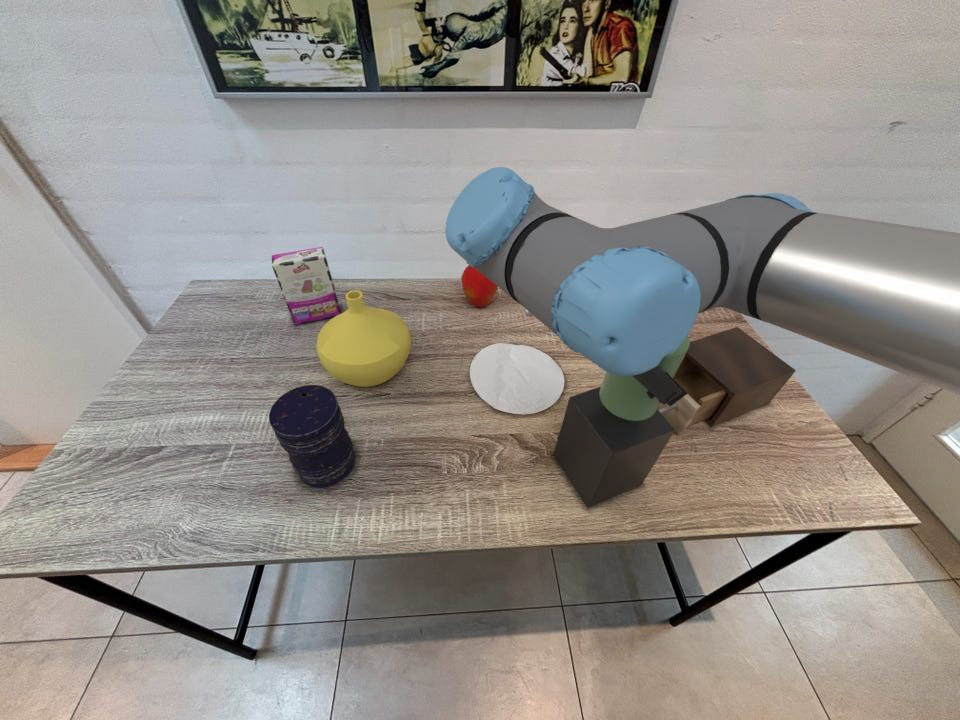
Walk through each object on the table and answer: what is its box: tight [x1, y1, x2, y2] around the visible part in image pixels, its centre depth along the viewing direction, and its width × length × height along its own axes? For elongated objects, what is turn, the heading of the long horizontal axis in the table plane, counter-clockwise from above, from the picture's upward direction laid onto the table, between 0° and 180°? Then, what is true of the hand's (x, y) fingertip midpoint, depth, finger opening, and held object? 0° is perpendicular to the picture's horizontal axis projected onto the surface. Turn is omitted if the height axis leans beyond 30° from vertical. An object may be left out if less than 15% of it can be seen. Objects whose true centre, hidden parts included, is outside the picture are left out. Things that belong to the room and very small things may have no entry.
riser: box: [553, 386, 676, 509], centre depth 66 cm, size 11×11×16 cm
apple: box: [460, 265, 499, 308], centre depth 101 cm, size 9×9×12 cm
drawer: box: [657, 355, 729, 436], centre depth 79 cm, size 20×13×8 cm, turn 113°
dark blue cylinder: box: [268, 384, 357, 490], centre depth 66 cm, size 10×10×15 cm
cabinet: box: [685, 326, 797, 428], centre depth 82 cm, size 16×14×10 cm
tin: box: [599, 334, 691, 421], centre depth 54 cm, size 8×8×12 cm
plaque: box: [469, 342, 565, 415], centre depth 87 cm, size 20×20×2 cm
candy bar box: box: [271, 246, 342, 326], centre depth 94 cm, size 11×5×16 cm, turn 112°
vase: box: [315, 290, 412, 388], centre depth 81 cm, size 18×18×19 cm
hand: (656, 374), depth 56 cm, fingers closed on tin, 8 cm apart
